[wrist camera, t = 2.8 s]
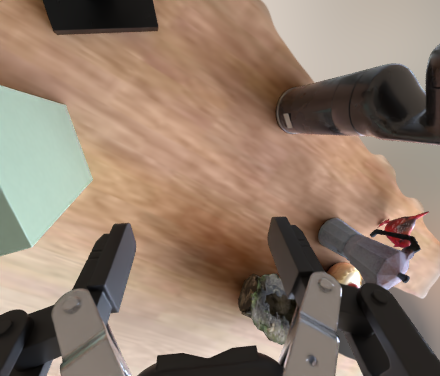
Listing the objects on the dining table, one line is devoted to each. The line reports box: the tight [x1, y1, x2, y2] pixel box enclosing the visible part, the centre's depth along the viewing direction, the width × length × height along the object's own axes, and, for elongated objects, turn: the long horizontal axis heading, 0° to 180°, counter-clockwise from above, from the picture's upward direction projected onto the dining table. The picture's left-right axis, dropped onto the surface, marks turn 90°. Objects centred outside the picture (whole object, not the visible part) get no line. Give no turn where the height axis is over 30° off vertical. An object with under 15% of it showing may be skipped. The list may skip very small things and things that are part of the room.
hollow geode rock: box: [238, 274, 297, 345], centre depth 52 cm, size 28×13×15 cm
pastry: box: [327, 262, 362, 288], centre depth 62 cm, size 12×12×9 cm
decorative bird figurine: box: [377, 212, 428, 248], centre depth 63 cm, size 3×18×10 cm, turn 116°
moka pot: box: [318, 218, 421, 290], centre depth 51 cm, size 10×15×20 cm, turn 138°
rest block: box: [0, 85, 93, 256], centre depth 23 cm, size 12×7×22 cm, turn 10°
